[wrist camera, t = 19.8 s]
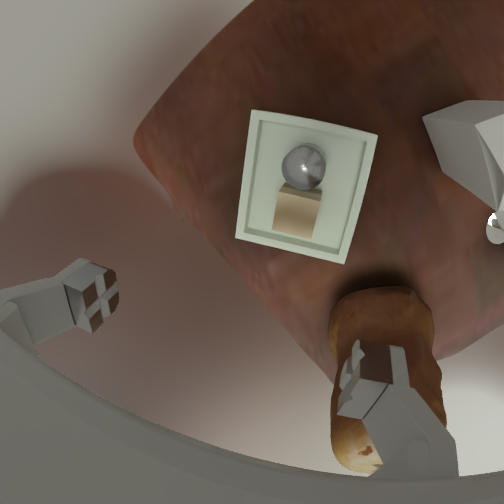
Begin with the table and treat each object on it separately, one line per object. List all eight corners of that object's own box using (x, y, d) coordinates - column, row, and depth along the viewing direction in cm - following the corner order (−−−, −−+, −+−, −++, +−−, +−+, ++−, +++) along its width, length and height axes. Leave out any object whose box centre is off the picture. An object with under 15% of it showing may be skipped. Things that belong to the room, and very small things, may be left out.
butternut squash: (353, 348, 45) (341, 496, 23) (314, 286, 42) (279, 451, 20) (433, 316, 39) (466, 467, 17) (405, 244, 35) (457, 409, 14)
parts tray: (257, 109, 33) (251, 109, 31) (374, 133, 31) (377, 135, 28) (241, 230, 41) (235, 237, 39) (343, 255, 38) (344, 264, 36)
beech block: (285, 181, 35) (278, 191, 31) (322, 190, 35) (320, 201, 31) (278, 216, 38) (271, 229, 34) (314, 224, 37) (311, 239, 33)
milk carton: (420, 116, 28) (500, 129, 12) (467, 99, 25) (565, 105, 9) (441, 172, 30) (521, 234, 14) (485, 154, 27) (581, 202, 11)
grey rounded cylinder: (281, 155, 34) (272, 162, 30) (312, 135, 32) (308, 139, 28) (302, 186, 35) (297, 197, 31) (333, 166, 33) (333, 175, 29)
